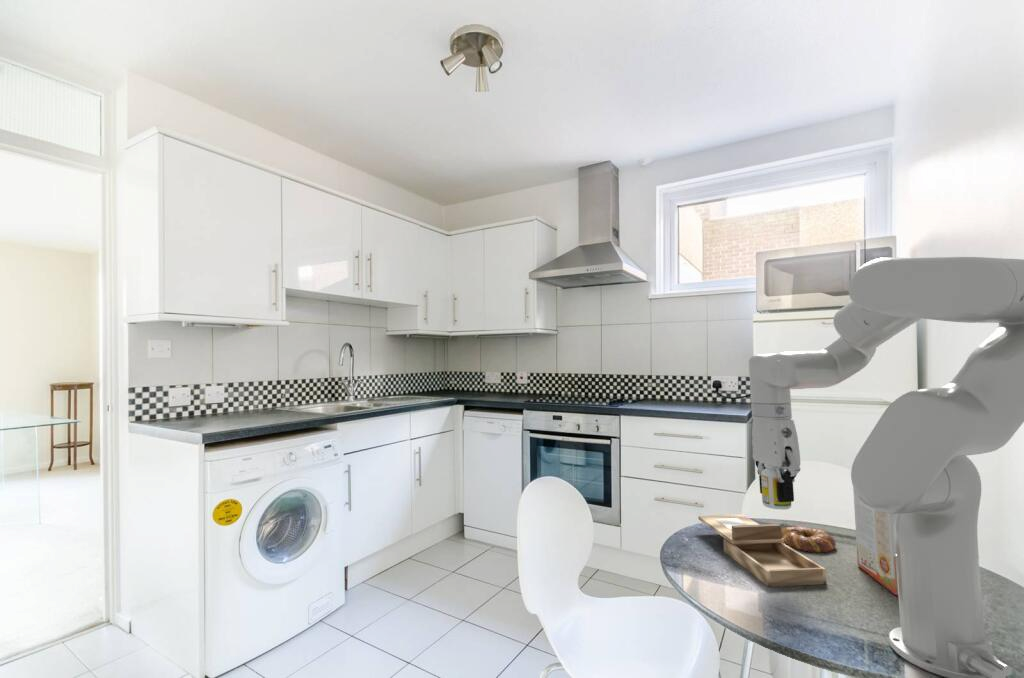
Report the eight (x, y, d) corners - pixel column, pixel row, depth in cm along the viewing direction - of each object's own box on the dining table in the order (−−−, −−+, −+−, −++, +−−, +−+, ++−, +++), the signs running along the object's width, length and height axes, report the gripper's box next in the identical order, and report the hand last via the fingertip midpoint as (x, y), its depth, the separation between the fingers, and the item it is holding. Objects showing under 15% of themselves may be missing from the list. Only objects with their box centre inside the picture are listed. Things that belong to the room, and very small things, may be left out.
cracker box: (931, 599, 88) (923, 485, 89) (894, 596, 89) (886, 484, 90) (888, 567, 102) (881, 469, 103) (856, 565, 103) (850, 468, 104)
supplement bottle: (758, 506, 100) (755, 460, 101) (768, 501, 104) (766, 457, 105) (785, 511, 96) (782, 464, 97) (795, 506, 100) (792, 460, 100)
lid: (784, 542, 109) (783, 525, 109) (733, 544, 108) (732, 527, 108) (742, 517, 126) (741, 503, 127) (698, 519, 126) (697, 504, 126)
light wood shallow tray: (826, 584, 95) (825, 568, 95) (768, 586, 94) (767, 571, 95) (773, 549, 113) (772, 536, 113) (724, 551, 112) (723, 538, 112)
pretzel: (775, 548, 115) (774, 532, 115) (782, 534, 123) (781, 520, 124) (834, 558, 108) (833, 541, 108) (837, 543, 116) (836, 528, 116)
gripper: (815, 414, 93) (822, 508, 92) (764, 407, 110) (769, 487, 109) (779, 415, 93) (785, 510, 91) (733, 408, 110) (737, 488, 109)
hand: (776, 496), depth 100 cm, fingers closed on supplement bottle, 5 cm apart
